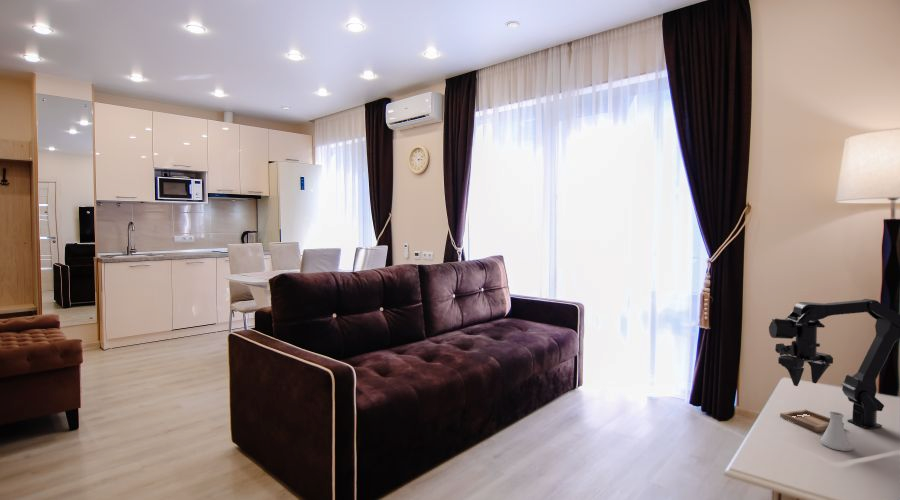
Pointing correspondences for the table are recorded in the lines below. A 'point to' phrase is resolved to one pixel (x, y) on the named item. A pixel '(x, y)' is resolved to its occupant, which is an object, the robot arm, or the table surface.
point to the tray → (808, 420)
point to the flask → (836, 434)
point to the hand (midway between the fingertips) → (805, 384)
